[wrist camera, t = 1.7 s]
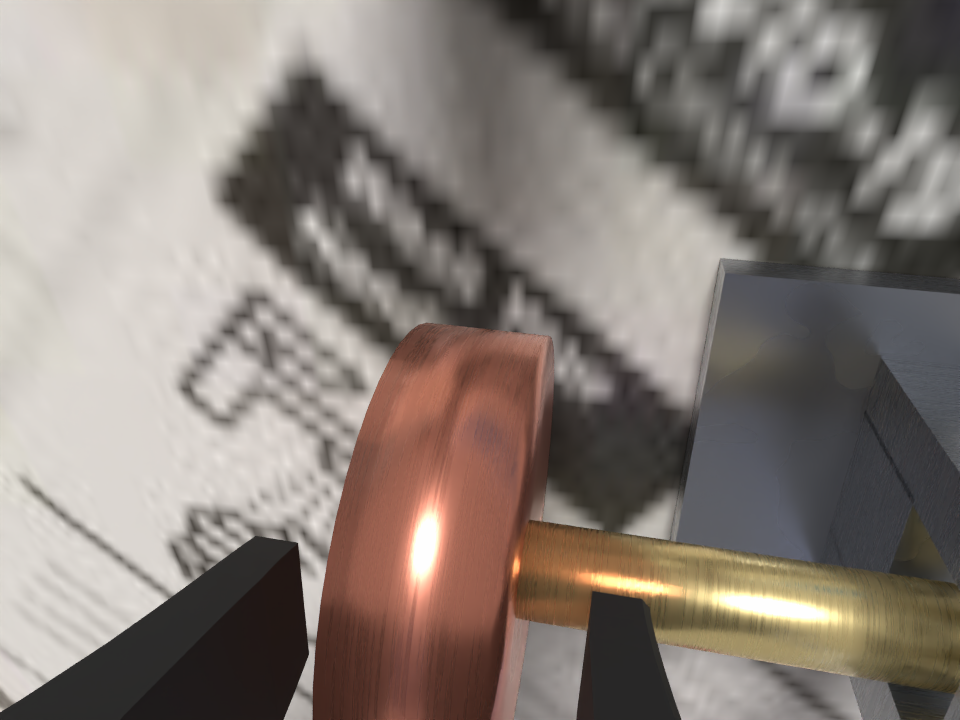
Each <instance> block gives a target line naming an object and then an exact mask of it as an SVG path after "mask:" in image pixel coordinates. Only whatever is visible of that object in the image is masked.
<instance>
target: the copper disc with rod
mask: <svg viewBox="0 0 960 720" xmlns="http://www.w3.org/2000/svg"><path fill="white" fill-rule="evenodd" d="M553 392H554V349H553V342H552V338H551V337H550V336H545V335H536V334H526V333H517V332H508V331H498V330H489V329H480V328H470V327H461V326H452V325H443V324H433V323H424V324H420V325H418V326H417V327H415V328H414V329H412V330H411V331H410V332H409V333H408V334H407V335H406V337H405V338H404V339H403V340H402V341H401V342H400V344H399V346H398V347H397V349H396V350H395V352H394V354H393V355H392V357H391V358H390V360H389V362H388V364H387V366H386V368H385V370H384V372H383V374H382V376H381V378H380V380H379V382H378V385H377V387H376V390H375V392H374V395H373V397H372V399H371V402H370V404H369V407H368V409H367V412H366V415H365V418H364V421H363V424H362V427H361V430H360V433H359V435H358V438H357V441H356V445H355V448H354V452H353V455H352V459H351V462H350V465H349V469H348V472H347V476H346V479H345V484H344V488H343V492H342V496H341V500H340V504H339V508H338V512H337V516H336V521H335V526H334V531H333V536H332V541H331V546H330V551H329V556H328V561H327V567H326V574H325V580H324V586H323V592H322V599H321V605H320V614H319V623H318V631H317V640H316V650H315V665H314V680H313V720H514V714H515V709H516V703H517V697H518V691H519V685H520V679H521V673H522V667H523V660H524V654H525V647H526V641H527V634H528V627H529V621H533V622H539V623H544V624H550V625H556V626H562V627H568V628H573V629H579V630H585V631H587V630H588V622H589V614H590V606H591V598H592V591H596V592H602V593H608V594H614V595H620V596H627V597H633V598H639V599H643V601H644V602H645V603H646V604H647V605H648V606H649V608H650V612H651V618H652V623H653V628H654V632H655V637H656V641H657V643H660V644H666V645H672V646H678V647H684V648H689V649H695V650H701V651H707V652H713V653H719V654H724V655H730V656H736V657H742V658H748V659H753V660H759V661H765V662H771V663H777V664H782V665H788V666H794V667H800V668H806V669H811V670H817V671H823V672H829V673H835V674H840V675H846V676H852V677H858V678H864V679H869V680H875V681H881V682H887V683H893V684H898V685H904V686H910V687H916V688H922V689H927V690H933V691H939V692H945V693H951V694H955V693H956V690H957V688H958V686H959V684H960V591H959V589H958V587H957V585H956V584H955V583H950V582H944V581H937V580H930V579H924V578H917V577H910V576H904V575H897V574H890V573H883V572H877V571H870V570H863V569H857V568H850V567H843V566H837V565H830V564H823V563H817V562H810V561H803V560H796V559H790V558H783V557H776V556H770V555H763V554H756V553H750V552H743V551H736V550H730V549H723V548H716V547H709V546H703V545H696V544H689V543H683V542H676V541H669V540H663V539H656V538H649V537H643V536H636V535H629V534H622V533H616V532H609V531H602V530H596V529H589V528H582V527H576V526H569V525H562V524H556V523H549V522H542V520H543V511H544V502H545V492H546V483H547V473H548V462H549V451H550V439H551V426H552V411H553Z"/></svg>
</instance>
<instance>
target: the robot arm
mask: <svg viewBox="0 0 960 720" xmlns="http://www.w3.org/2000/svg"><path fill="white" fill-rule="evenodd" d="M308 655H309V650H308V640H307V629H306V619H305V609H304V599H303V589H302V579H301V569H300V559H299V549H298V543H296V542H290V541H283V540H277V539H271V538H265V537H259V536H255V537H254V538H252V539H251V540H249V541H248V542H247V543H245V544H244V545H242V546H241V547H239V548H238V549H237V550H235V551H234V552H233V553H231V554H230V555H228V556H227V557H226V558H224V559H223V560H222V561H220V562H219V563H218V564H216V565H215V566H213V567H212V568H211V569H209V570H208V571H207V572H205V573H204V574H203V575H201V576H200V577H199V578H197V579H196V580H194V581H193V582H192V583H190V584H189V585H188V586H186V587H185V588H184V589H182V590H181V591H179V592H178V593H177V594H175V595H174V596H173V597H171V598H170V599H168V600H167V601H166V602H164V603H163V604H162V605H160V606H159V607H157V608H156V609H155V610H153V611H152V612H150V613H149V614H148V615H146V616H145V617H143V618H142V619H141V620H139V621H138V622H136V623H135V624H133V625H132V626H131V627H129V628H128V629H126V630H125V631H124V632H122V633H121V634H119V635H118V636H117V637H115V638H114V639H112V640H111V641H109V642H108V643H107V644H105V645H103V646H102V647H100V648H99V649H97V650H96V651H94V652H93V653H91V654H90V655H88V656H87V657H85V658H84V659H82V660H81V661H79V662H78V663H76V664H75V665H73V666H72V667H70V668H69V669H67V670H65V671H64V672H62V673H61V674H59V675H58V676H56V677H55V678H53V679H52V680H50V681H49V682H47V683H46V684H44V685H43V686H41V687H40V688H38V689H37V690H35V691H34V692H32V693H31V694H29V695H27V696H26V697H24V698H23V699H21V700H20V701H18V702H16V703H15V704H13V705H11V706H10V707H8V708H7V709H5V710H3V711H2V712H0V720H283V719H284V717H285V714H286V712H287V710H288V707H289V705H290V702H291V700H292V697H293V695H294V692H295V690H296V687H297V684H298V682H299V679H300V676H301V674H302V671H303V669H304V666H305V663H306V661H307V658H308ZM577 720H681V717H680V714H679V711H678V709H677V706H676V703H675V700H674V697H673V694H672V691H671V688H670V685H669V682H668V678H667V675H666V672H665V669H664V666H663V662H662V659H661V655H660V652H659V648H658V644H657V641H656V637H655V632H654V628H653V623H652V618H651V612H650V608H649V606H648V605H647V604H646V603H645V602H644V601H643V599H639V598H633V597H627V596H620V595H614V594H608V593H602V592H596V591H592V598H591V606H590V614H589V622H588V630H587V638H586V646H585V654H584V661H583V669H582V677H581V685H580V693H579V701H578V710H577Z"/></svg>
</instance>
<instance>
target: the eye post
mask: <svg viewBox="0 0 960 720" xmlns="http://www.w3.org/2000/svg"><path fill="white" fill-rule="evenodd" d="M670 541H676V542H683V543H689V544H696V545H703V546H709V547H716V548H723V549H730V550H736V551H743V552H750V553H756V554H763V555H770V556H776V557H783V558H790V559H796V560H803V561H810V562H817V563H823V564H830V565H837V566H843V567H850V568H857V569H863V570H870V571H877V572H883V573H890V574H897V575H904V576H910V577H917V578H924V579H930V580H937V581H944V582H950V583H955V584H956V585H957V587H958V589H959V591H960V279H951V278H940V277H928V276H917V275H905V274H893V273H882V272H870V271H859V270H847V269H836V268H824V267H813V266H801V265H790V264H778V263H767V262H755V261H744V260H732V259H720V265H719V270H718V276H717V281H716V287H715V293H714V298H713V304H712V309H711V315H710V320H709V326H708V331H707V337H706V343H705V348H704V354H703V359H702V365H701V370H700V376H699V381H698V387H697V393H696V398H695V404H694V409H693V415H692V420H691V426H690V431H689V437H688V443H687V448H686V454H685V459H684V465H683V470H682V476H681V481H680V487H679V492H678V498H677V504H676V509H675V515H674V520H673V526H672V531H671V537H670ZM849 677H850V680H851V683H852V687H853V690H854V693H855V696H856V700H857V703H858V706H859V709H860V713H861V716H862V719H863V720H960V684H959V686H958V688H957V690H956V693H955V694H951V693H945V692H939V691H933V690H927V689H922V688H916V687H910V686H904V685H898V684H893V683H887V682H881V681H875V680H869V679H864V678H858V677H852V676H849Z"/></svg>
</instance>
